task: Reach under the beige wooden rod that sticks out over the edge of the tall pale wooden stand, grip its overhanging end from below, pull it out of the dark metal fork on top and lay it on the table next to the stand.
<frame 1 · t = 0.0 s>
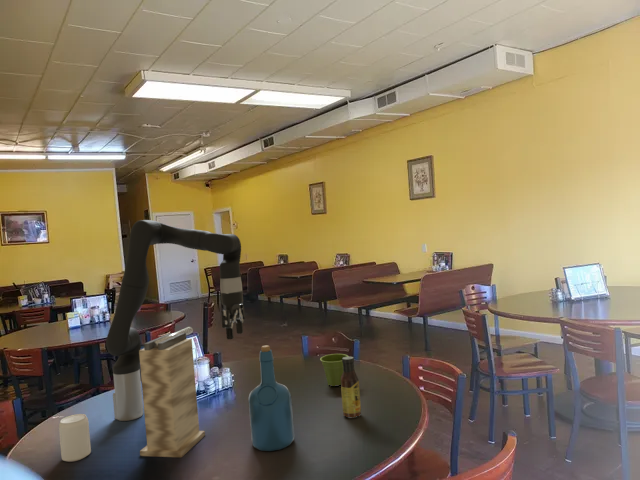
hand: (235, 336, 166), 29 cm above the table, tool pointing down, fingers open, 8 cm apart
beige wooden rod: (174, 340, 153), point 32 cm above the table, touching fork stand
wine bottle: (273, 443, 144), on the table
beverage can: (76, 457, 146), on the table
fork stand: (174, 444, 149), on the table
plant pot: (336, 385, 195), on the table
sauce bottle: (352, 416, 161), on the table
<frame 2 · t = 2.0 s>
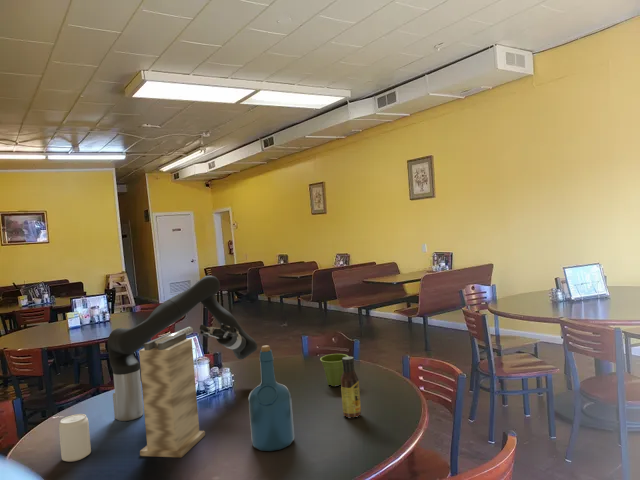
hand: (211, 326, 178), 31 cm above the table, tool pointing upward, fingers open, 8 cm apart
nothing on the table moved.
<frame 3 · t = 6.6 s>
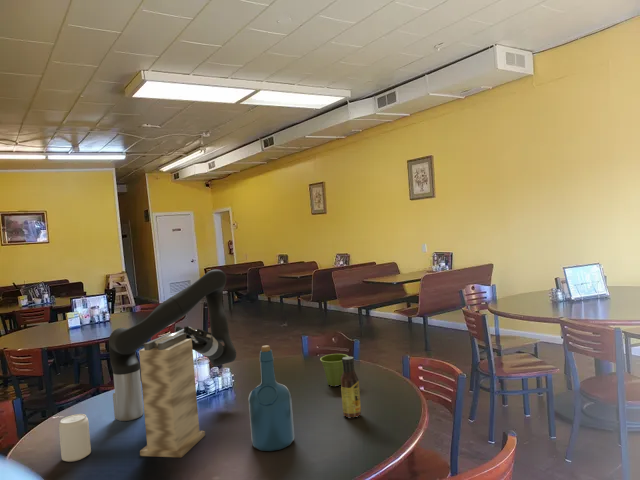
hand: (181, 329, 158), 35 cm above the table, tool pointing upward, fingers closed on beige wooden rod, 2 cm apart
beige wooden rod: (174, 340, 153), point 32 cm above the table, touching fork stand, gripper
everything else where it was.
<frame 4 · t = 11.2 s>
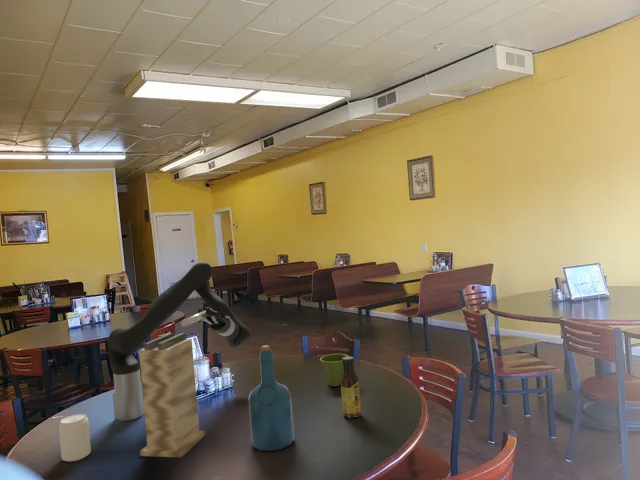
hand: (203, 310, 173), 38 cm above the table, tool pointing upward, fingers closed on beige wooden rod, 2 cm apart
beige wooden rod: (198, 320, 169), point 35 cm above the table, touching gripper
everything else where it was.
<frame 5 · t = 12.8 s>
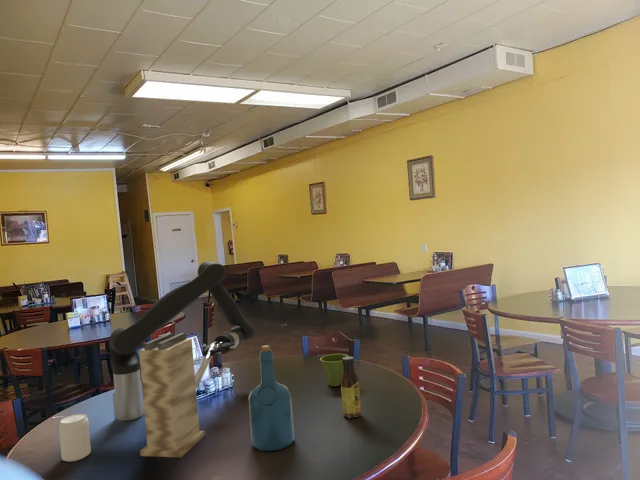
hand: (207, 353, 174), 22 cm above the table, tool horizontal, fingers closed on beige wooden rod, 2 cm apart
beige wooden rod: (205, 367, 172), point 17 cm above the table, tilted 30°, touching gripper
everything else where it was.
when the fingers open (11 cm above the table, at t = 15.7 s): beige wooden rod drops 7 cm, on the table.
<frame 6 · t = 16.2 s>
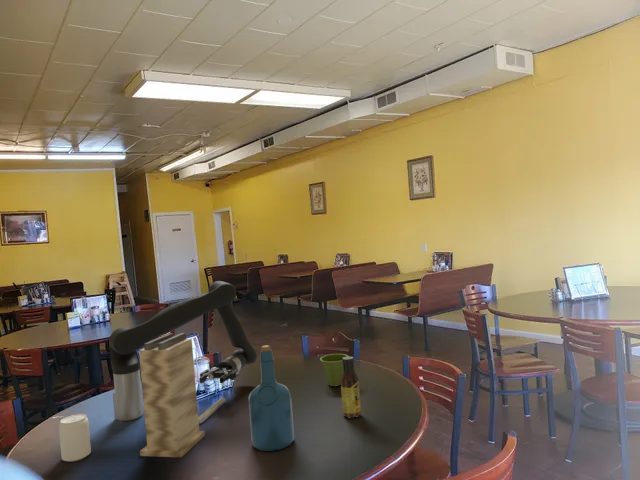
hand: (210, 380, 175), 12 cm above the table, tool horizontal, fingers open, 7 cm apart
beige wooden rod: (211, 413, 174), on the table
everything else where it was.
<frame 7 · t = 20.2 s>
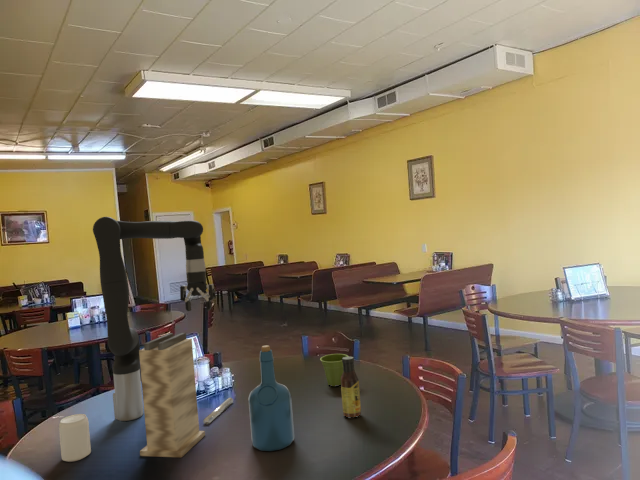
hand: (198, 310, 189), 36 cm above the table, tool pointing down, fingers open, 8 cm apart
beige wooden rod: (218, 407, 173), point 2 cm above the table, tilted 172°
everything else where it was.
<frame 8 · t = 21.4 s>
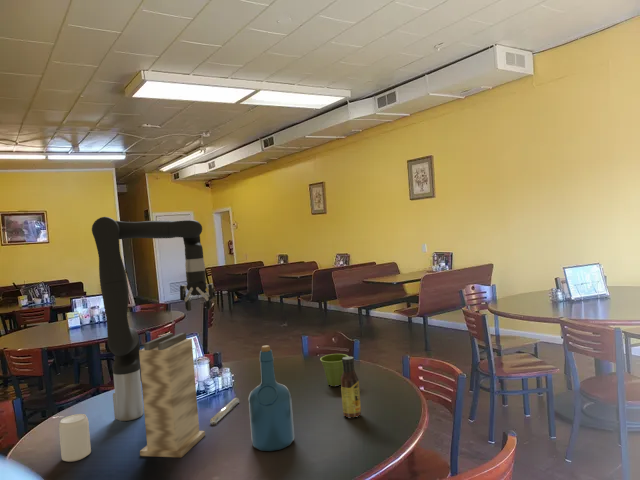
hand: (198, 310, 188), 36 cm above the table, tool pointing down, fingers open, 8 cm apart
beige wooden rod: (227, 412, 172), on the table, tilted 52°
everything else where it was.
at the end: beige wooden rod inside the target area (7.0 cm from its centre), on the table; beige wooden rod touching table; the gripper is holding nothing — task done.
